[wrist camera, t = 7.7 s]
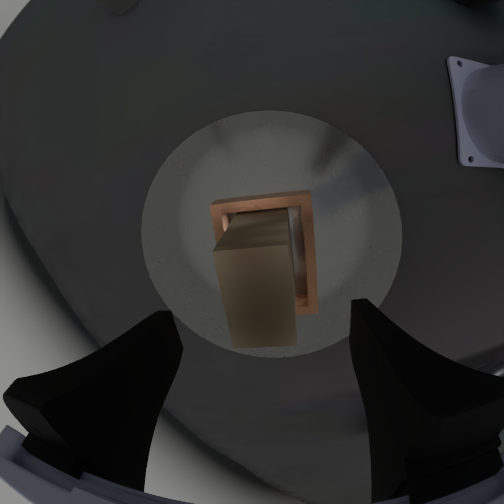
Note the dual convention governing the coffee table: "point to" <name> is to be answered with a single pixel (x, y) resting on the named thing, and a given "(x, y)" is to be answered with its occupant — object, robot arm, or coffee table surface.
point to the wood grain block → (258, 279)
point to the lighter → (117, 5)
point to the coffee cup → (475, 2)
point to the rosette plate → (267, 197)
